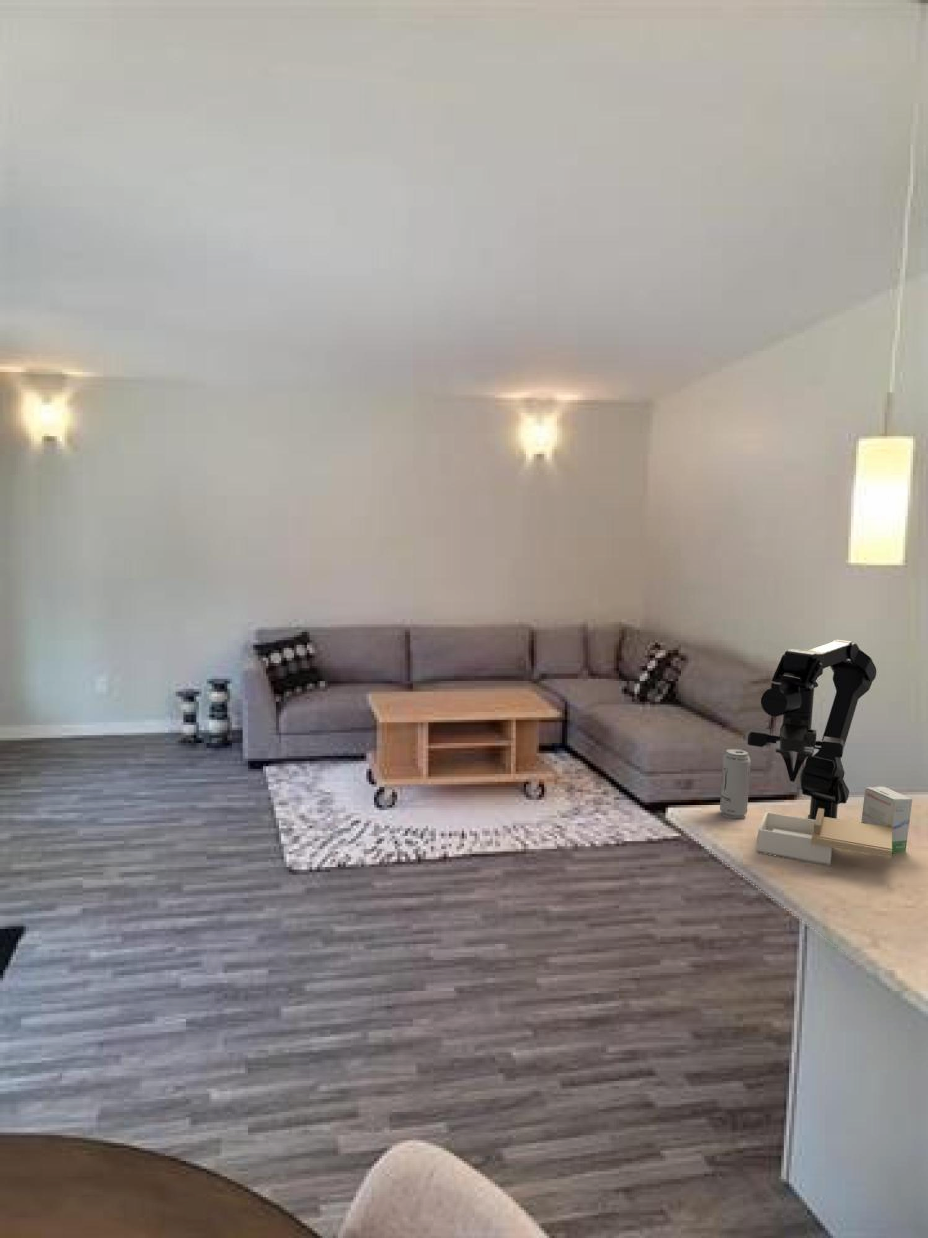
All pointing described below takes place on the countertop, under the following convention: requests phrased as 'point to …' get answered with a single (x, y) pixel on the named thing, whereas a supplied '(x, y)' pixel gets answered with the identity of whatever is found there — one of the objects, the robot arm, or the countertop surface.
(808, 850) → the mailer box
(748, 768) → the energy drink can
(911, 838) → the countertop surface
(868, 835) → the lid
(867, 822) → the ink box
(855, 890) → the countertop surface
